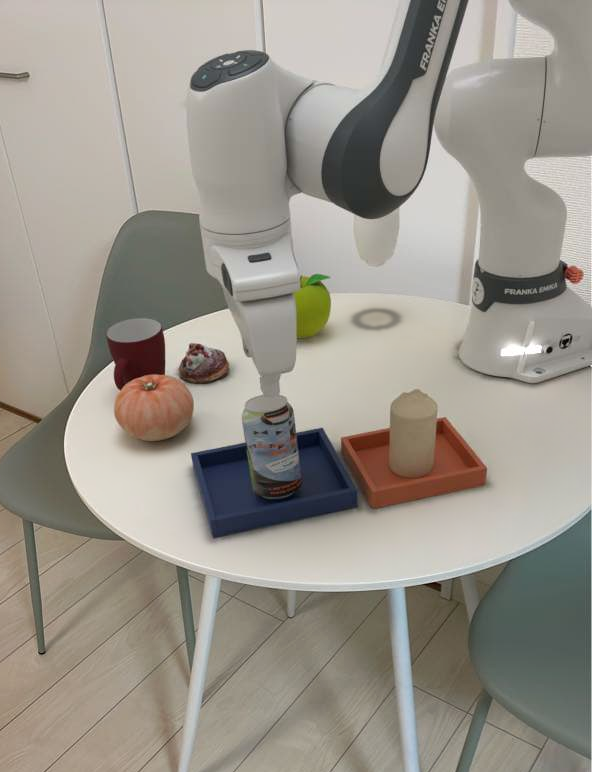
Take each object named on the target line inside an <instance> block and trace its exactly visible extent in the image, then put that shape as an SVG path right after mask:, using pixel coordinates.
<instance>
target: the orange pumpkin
mask: <svg viewBox="0 0 592 772" xmlns="http://www.w3.org/2000/svg"><path fill="white" fill-rule="evenodd" d="M194 407H195V404H194V397H193V394H192V392H191V391H190V389H189V388H188V387H187V386H186V384H184V383H183V382H182V381H181V380H179V379H177V378H175V377H174V376H170V375H168V374H167V375H166V374H165V375H156V374H155V375H146V376H143V377H140V378H136V379H134V380H132V381H130V382H129V383H127V384H126V385H125V386H124V387H123V388H122V390H121V391H120V390H119V392H118V393H117V395H116V397H115V400H114V406H113V411H114V413H113V414H114V418H115V420H116V422H117V424H118V426H119V427H121V428H120V429H122V430H123V431H124V432H125V433H126V434H128V435H129V436H131V437H132V438H135V439H137V440H141V441H147V442H148V441H149V442H157V441H158V442H159V441H163V440H168V439H171V438H172V437H174V436H176V435H178V434H179V433H181V432H182V431H183V430H185V428H186V427H187V426H188V424H189V423H190V422H191V419H192V418H193V414H194V410H195V409H194Z"/></svg>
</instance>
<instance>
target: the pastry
mask: <svg viewBox="0 0 592 772" xmlns="http://www.w3.org/2000/svg"><path fill="white" fill-rule="evenodd" d="M229 366H230V363H229V361H228V358H227V357H226V354H225V352H224V351H222V350H220V349H218V348H212V347H208V346H206V345H205V344H201V343H195V342H191V343H189V344H188V348H187V350H186V352H185V356H184V357H183V359H181V362H180V364H179V366H178V369H177V371H178V374H179V376H180V378H181V379H183V380H185V381H188V382H190V383H194V384H206V383H212V382H213V381H217V380H220V379H222V378H224V377H225V376H227V374H228V372H229V369H230V368H229Z"/></svg>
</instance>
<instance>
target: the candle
mask: <svg viewBox="0 0 592 772" xmlns="http://www.w3.org/2000/svg"><path fill="white" fill-rule="evenodd" d="M389 407H390V409H389V428H390V446H389V465H390V469H391V470H392V471H393V472H394V473H395V474H397V475H399V476H402V477H407V478H417V477H422V476H424V475H427V474H428V473H429V472H431V470H432V468H433V464H434V452H435V438H436V424H437V418H438V408H439V406H438V403H437V402H436V401H435V400H434V399H433V398H432V397H431V396H430V395H429V394H428V393H424V392H423V391H422V390H421V389H419V388H416V389H413V390H411V391H409V392H405V391H403V392H401V394H400V395H399V396H397V397H396V398H395V399H393V400H392V401H391V403H390V406H389Z"/></svg>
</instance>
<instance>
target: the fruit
mask: <svg viewBox="0 0 592 772" xmlns="http://www.w3.org/2000/svg"><path fill="white" fill-rule="evenodd" d="M327 279H331V276H328V275H325V274H321V273H314V274H312V275H311V276H310V277H309V276H305V275H302V274H300V291H298V292H294V293H293V294H294V297H295V304H296V338H297V339H298V338H299V339H307V338H311V337H314V336H316V335H318V334H319V333H320V332H321V331H322V330H323V329H324V328H325V326H326V325H327V323H328V322H329V319H330V315H331V310H332V297H331V294H330V291H329V289H328V288H327V287H326V285H325V284H324V283H323V282H322V281H325V280H327Z"/></svg>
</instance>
